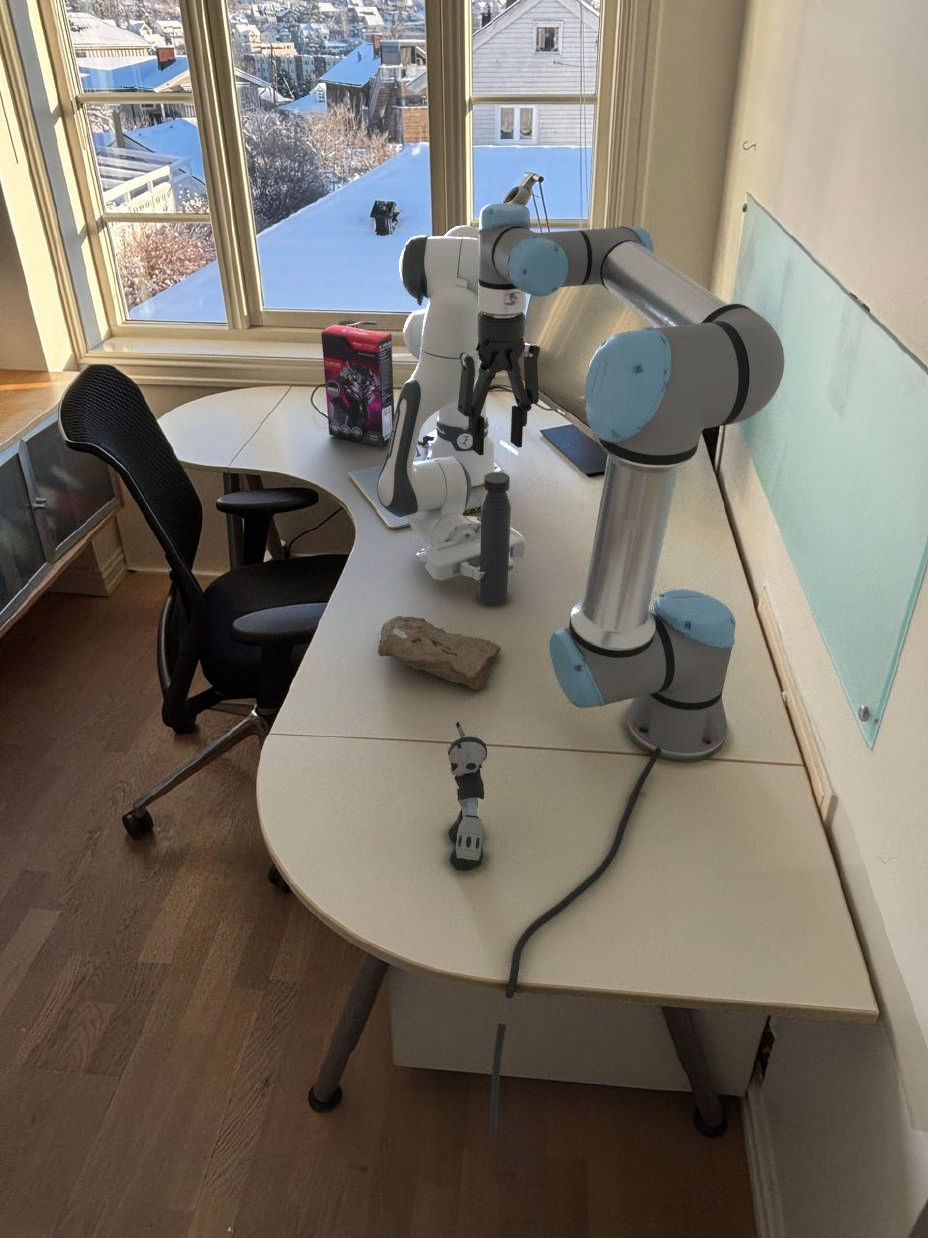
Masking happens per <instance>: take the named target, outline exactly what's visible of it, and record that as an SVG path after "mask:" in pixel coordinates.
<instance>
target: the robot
mask: <svg viewBox="0 0 928 1238" xmlns="http://www.w3.org/2000/svg"><path fill="white" fill-rule="evenodd" d="M455 726H456V730H457V733H458V735H459V737H458V738H456V739H455V740H453V742H452V743H450V745H449V747H448V748H447V756H448V757H447V758H448V761H449V762H450V773H451V775H452V776H453V777H454V778H453V779H454V781H455V783H456V785H457V787H458V788H456V795H457V796H456V797H457V803H458V804H459V806H460V811H459V813H458V816H457V818H456V820H455V821H454V823H453V824H452V826H451V827H450V828H449V830H448V832H447V834H448V837H449V839H450V842H452V843H454V844H455V845H454V847H453V849H452V852H451V854H450V858H449V863H450V864H451V865H452V866H453V867H454V868H455V869H457V870H460V871H470V870H472V869H474V868H477V867H479V866H481V865H482V861H483V858H484V852H483V850H484V849H483V848H484V847H483V840H484V826H483V822H482V819H481V818H480V816H478V808H479V807H478V806H479V801H478V799H480V800H485V785H484V781H483V778H482V773H481V769H482V768H483V765H482V764H483V763H484V762H485V761H486V759H487V758H488V746H487V745H486V742H484V741H483V740H482V739H481V738H480V737H478V736H475V735H472V734H466V733H465V730H464V729H463V727H462V725H461V723H460V722H459V721H457V722H456V723H455Z"/></svg>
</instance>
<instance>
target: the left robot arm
mask: <svg viewBox="0 0 928 1238" xmlns="http://www.w3.org/2000/svg"><path fill="white" fill-rule="evenodd" d="M478 230H479V228H476V227H474V226H471V225H458V226H455V227H454V228H451V229H450V230H449V231H448V232H446V234H444V236H429V235H428V234H427V235H426V234H425V235H417V236H412V237H410V238H409V239H408V240H407V242H405V245H404V248H403V250H402V252H401V255H400V258H399V274H400V278H401V281H402V287H404V289H405V290H406V292H407V293H408V294H409V296H411V297H412V298H414V299H416V302H417V305H418V306H420V307H422V305H423V301H424V298H426V299H427V300H428V303H427V306H426V308H425V309H420V310H416V311H413V312H412V313H411V314H410V315H408V318H407V319H406V322H405V324H404V326H403V327H404V328H403V340H404V344H405V346H406V348H407V351H408V352H409V353H410V354H411V355H412V356H413V357H414V358H416V360H418V361H417V364H416V366H415V370H414V371H413V373H412V374H411V376H410V378H409V379H408V380H407V381H406V382H405V383H404V384H403V385H402V387H401V388H400V392H399V395H398V399H397V403H396V406H395V410H394V413H395V416H394V420H393V425H392V430H391V435H390V440H389V443H388V444H387V448H386V449H387V450H386V455H385V459H384V463H383V465H382V468H381V471H380V472H379V476H378V479H377V484H376V493H377V498H378V502H379V504H380V505H381V506H382V508H383V509H385V510H386V511H387V512H388V513H390V514H392V515H393V516H395V517H398V518H404V517H405V518H406V520H407V523H408V525H409V526H410V528H412V530H413V531H414V533H415V534H416V535H417V536H418V537H419V538H421V540H422V541H424V542H425V543H427V544H428V545H429V546H428V547H426V548H422V549H419V550H418V552H417V553H416V554H415V559H416V560H417V561H418V562H419V563H420V564H421V565H422V564H423V565H424V568H425V569H426V571H427V573H428V574H429V575H430V576H431V577H432V578H433V579H434V580H436V581H445V580H449V579H451V578H454V577H458V576H461V575H462V576H464V577H469V578H474V579H475V580H476V581H477V582H478V581H480V580H481V579H484V578H485V576H484V575H485V571H484V570H483V569H482V568H481V567H480V550H481V516H470V515H463V514H464V513H465V511H466V509H467V507H468V504H469V501H470V498H471V494H472V488H473V487H478V486H481V485H484V476H485V475H486V474H488V473H492V472H501V473H502V468H501V467H500V466H499V465H498V464H497V463H496V461H495V442H494V441H493V440H492V438H491V437H489V427H490V426H489V425H490V424H489V417H488V416H487V415H488V413H487V412H488V411H487V410H488V409H487V407H488V406H487V405H488V396H487V397H486V400H485V403H484V406H483V409H482V412H481V416H482V417H484V418H485V419H484V455H478V454H477V453H476V452H475V451H473V450H472V440H473V436H472V435H471V434H470V433H469V431H468V428H469V427H468V422H469V417H466V416H464V415H463V414H462V413H460V412H459V411H458V400H459V390H460V380H461V371H462V366H461V361H460V354H461V353H463V352H464V353H466V354H468V353H470V352H472V351H475V349H476V346H477V344H478V334H477V326H478V313H479V312H480V310H479V309H478V281H479V234H478ZM480 364H481V361H480V359H479V358H478V359H477V366H475V379H474V388H475V385H476V382H477V379H478V376H479V367H480ZM474 388H473V391H474ZM437 412H438V416H437V418H436V423H435V428H436V429H434V430H432V431H431V432H429V433H427V434H426V435H424V436H423V437H422V440H419V439H420V434H421V430H422V429H423V426H424V424H425V422H427V420H428V419H429V418H430V417H431V416H433V415H434V414H435V413H437ZM499 444H500V445H501V446H503V447H504V448H507V450H508V451H510V452H512V453H513V454H515V455H516V456H519V452H518V451H517V450H516V449H514V448H513V447H512V446H510V445H509V444H508V443H506V442H504V441H503V440H500V441H499ZM418 445H421V446H425V445H426V446H427V451H428V453H427V456H426V458H427V457H429V460H427V459H425V460H418V461H415V457H416V452H417V449H418V448H417V447H418ZM525 552H526V538H525V536H524V535H522V534H521V533H520V532H518V531H517V530H516V529H514V528H513V527H511V526H510V542H509V567H508V572H510V571H513V570H515V568H516V562H515V559H516V558H520V557H523V556H524V555H525Z"/></svg>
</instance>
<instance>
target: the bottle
mask: <svg viewBox="0 0 928 1238" xmlns="http://www.w3.org/2000/svg"><path fill="white" fill-rule="evenodd" d="M511 514H512V505H511V502H510V499H509V496H508V492H507V491H506V492H503V493H491V492H488V491H486V492H485V495H484V498H483V501H482V503H481V508H480V517H481V550H480V567H481V568H482V569H483V570H484V571H485V575H484V576H485V578H484V579H481V580H479V603H481V604H482V605H484V606H487V607H491V608H494V607H495V608H496V607H500V606H504V605H505V604H506V603H507V602H508V588H509V571H508V567H509V542H510V527H511V517H512V515H511Z"/></svg>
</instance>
